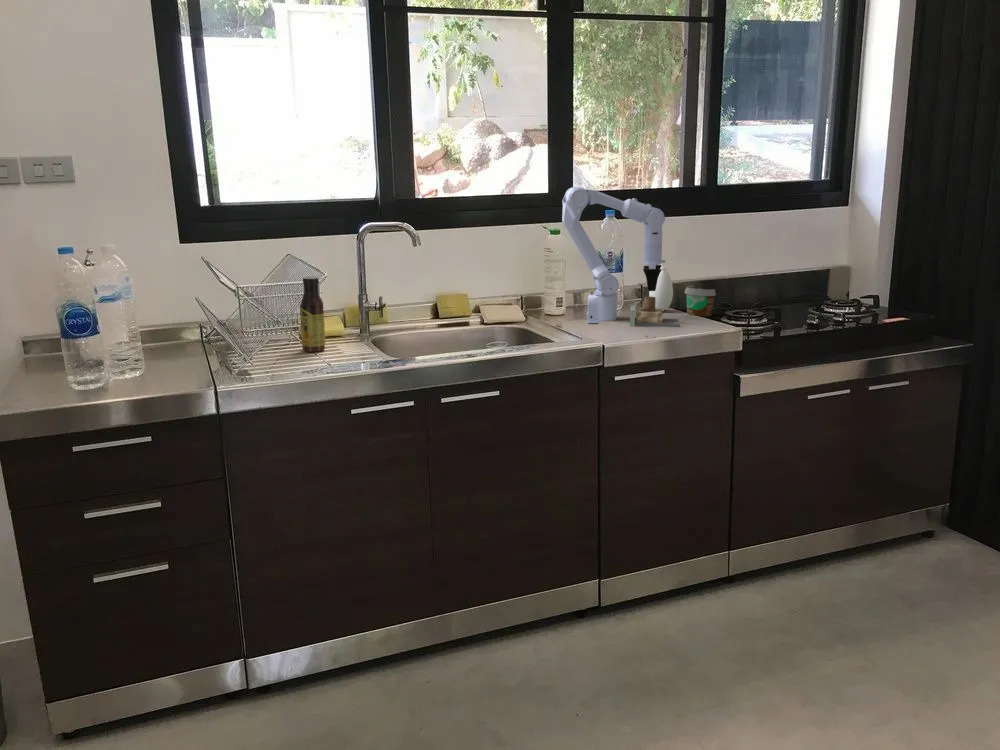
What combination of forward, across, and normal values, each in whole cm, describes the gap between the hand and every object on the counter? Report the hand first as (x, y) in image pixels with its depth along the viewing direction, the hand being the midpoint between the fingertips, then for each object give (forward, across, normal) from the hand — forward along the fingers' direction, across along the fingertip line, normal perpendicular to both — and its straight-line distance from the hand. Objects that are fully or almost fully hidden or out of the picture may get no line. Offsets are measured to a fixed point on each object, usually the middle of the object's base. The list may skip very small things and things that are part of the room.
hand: (651, 289), depth 266 cm
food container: (+11, +10, -14) cm, 20 cm away
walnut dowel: (+8, -10, +1) cm, 13 cm away
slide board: (+10, -10, -1) cm, 14 cm away
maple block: (+9, -10, +1) cm, 13 cm away
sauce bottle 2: (+11, +20, -3) cm, 23 cm away
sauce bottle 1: (+9, -61, +90) cm, 109 cm away
